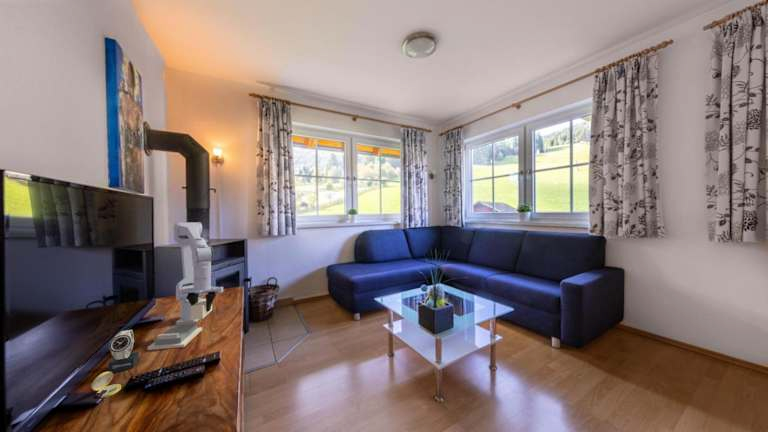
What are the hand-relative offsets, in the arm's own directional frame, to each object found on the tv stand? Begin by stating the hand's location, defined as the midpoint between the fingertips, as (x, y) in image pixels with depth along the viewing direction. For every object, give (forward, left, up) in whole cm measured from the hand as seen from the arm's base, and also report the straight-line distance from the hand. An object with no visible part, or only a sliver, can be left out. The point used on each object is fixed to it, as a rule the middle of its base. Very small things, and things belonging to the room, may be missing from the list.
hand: (202, 311), depth 103 cm
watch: (+22, -12, -9) cm, 27 cm away
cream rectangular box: (0, 0, -1) cm, 1 cm away
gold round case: (+34, -8, -9) cm, 36 cm away
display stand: (+5, -6, -8) cm, 12 cm away
